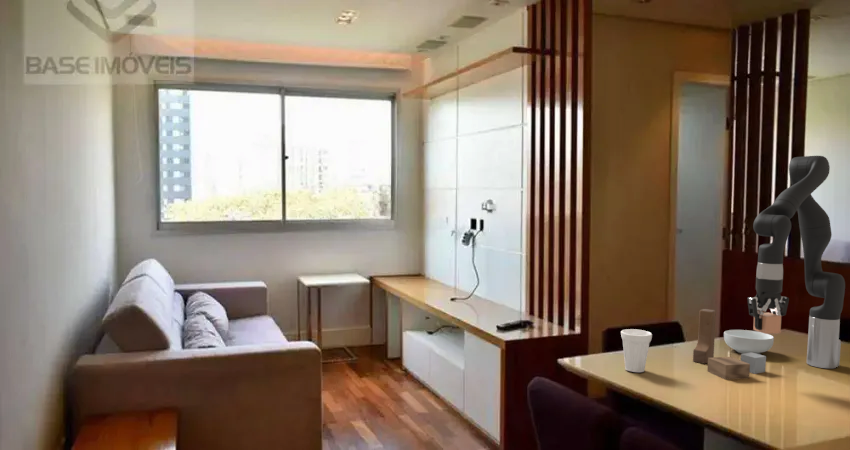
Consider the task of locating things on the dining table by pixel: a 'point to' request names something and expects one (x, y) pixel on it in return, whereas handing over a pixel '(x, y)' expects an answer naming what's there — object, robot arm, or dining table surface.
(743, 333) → the cereal bowl
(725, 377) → the walnut base block
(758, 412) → the dining table surface
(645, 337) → the cup
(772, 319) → the terracotta cube
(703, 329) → the wooden block
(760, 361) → the slate cube
